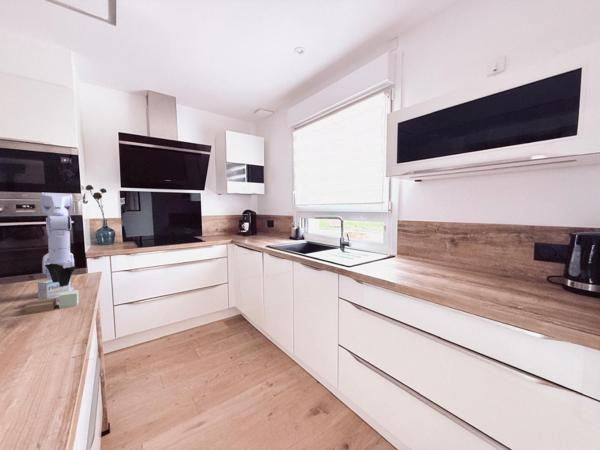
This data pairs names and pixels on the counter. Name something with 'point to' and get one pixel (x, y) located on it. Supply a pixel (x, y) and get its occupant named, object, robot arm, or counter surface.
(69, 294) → the sage cube
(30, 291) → the counter surface
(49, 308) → the walnut block
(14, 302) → the counter surface
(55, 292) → the medicine box
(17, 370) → the counter surface
